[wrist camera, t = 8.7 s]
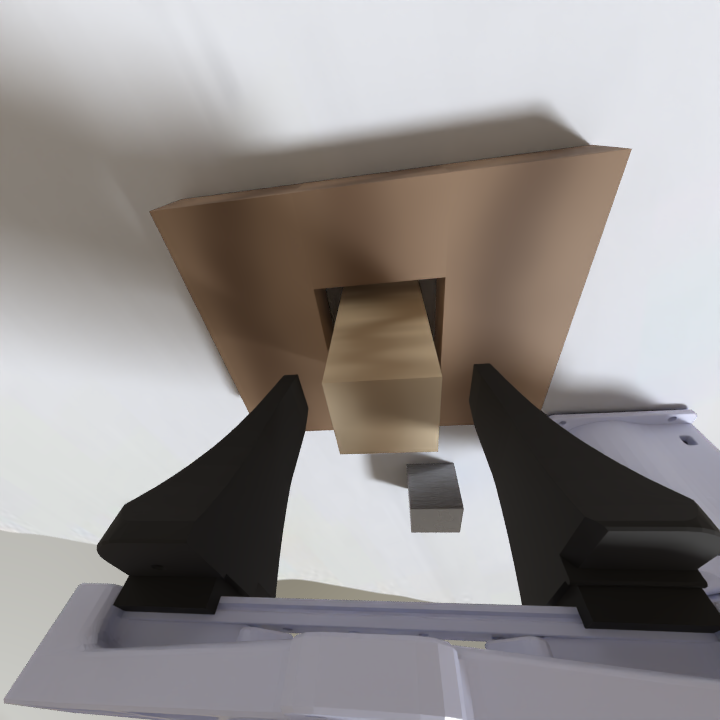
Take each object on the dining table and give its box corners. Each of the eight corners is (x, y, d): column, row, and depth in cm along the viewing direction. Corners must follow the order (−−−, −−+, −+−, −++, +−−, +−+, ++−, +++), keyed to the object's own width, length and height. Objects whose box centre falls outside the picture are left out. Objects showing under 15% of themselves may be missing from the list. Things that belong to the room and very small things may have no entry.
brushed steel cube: (453, 462, 26) (463, 508, 23) (450, 487, 29) (459, 532, 25) (406, 463, 27) (410, 509, 23) (407, 488, 29) (411, 532, 26)
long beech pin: (417, 278, 16) (442, 376, 10) (417, 340, 19) (437, 451, 12) (343, 285, 17) (321, 383, 10) (353, 344, 19) (340, 454, 13)
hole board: (591, 145, 12) (631, 148, 10) (521, 393, 21) (536, 422, 19) (180, 199, 14) (149, 211, 12) (269, 406, 23) (258, 432, 21)
